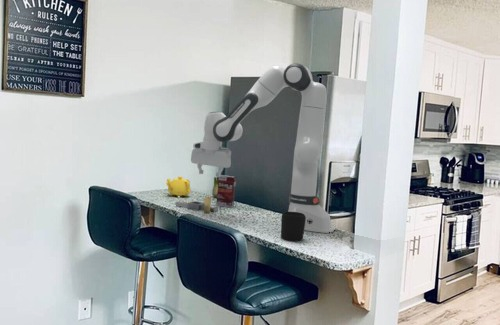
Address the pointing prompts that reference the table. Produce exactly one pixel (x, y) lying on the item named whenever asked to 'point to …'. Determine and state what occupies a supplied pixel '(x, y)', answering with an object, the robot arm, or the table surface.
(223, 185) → the supplement box
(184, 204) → the chain joint
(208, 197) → the pin
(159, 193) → the table surface
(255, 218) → the table surface
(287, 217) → the pen holder
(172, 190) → the teapot
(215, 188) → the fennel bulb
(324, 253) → the table surface
